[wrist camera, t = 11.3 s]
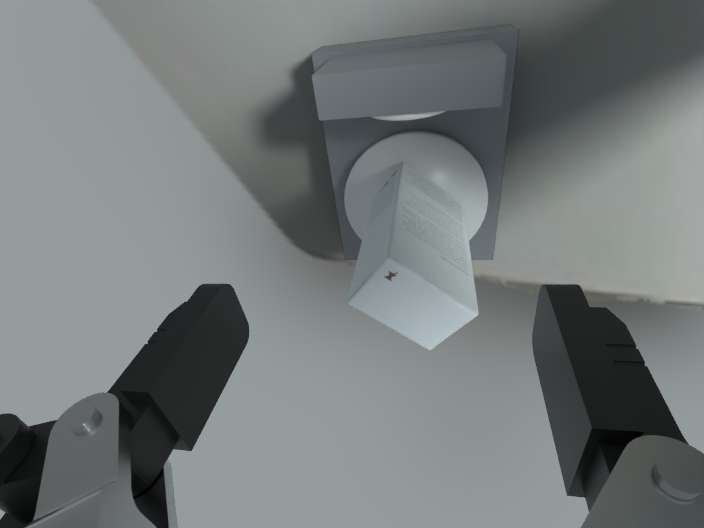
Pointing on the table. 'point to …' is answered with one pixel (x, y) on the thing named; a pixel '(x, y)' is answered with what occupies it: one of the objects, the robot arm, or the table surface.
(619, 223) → the table surface
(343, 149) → the dial scale
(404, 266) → the skincare box
